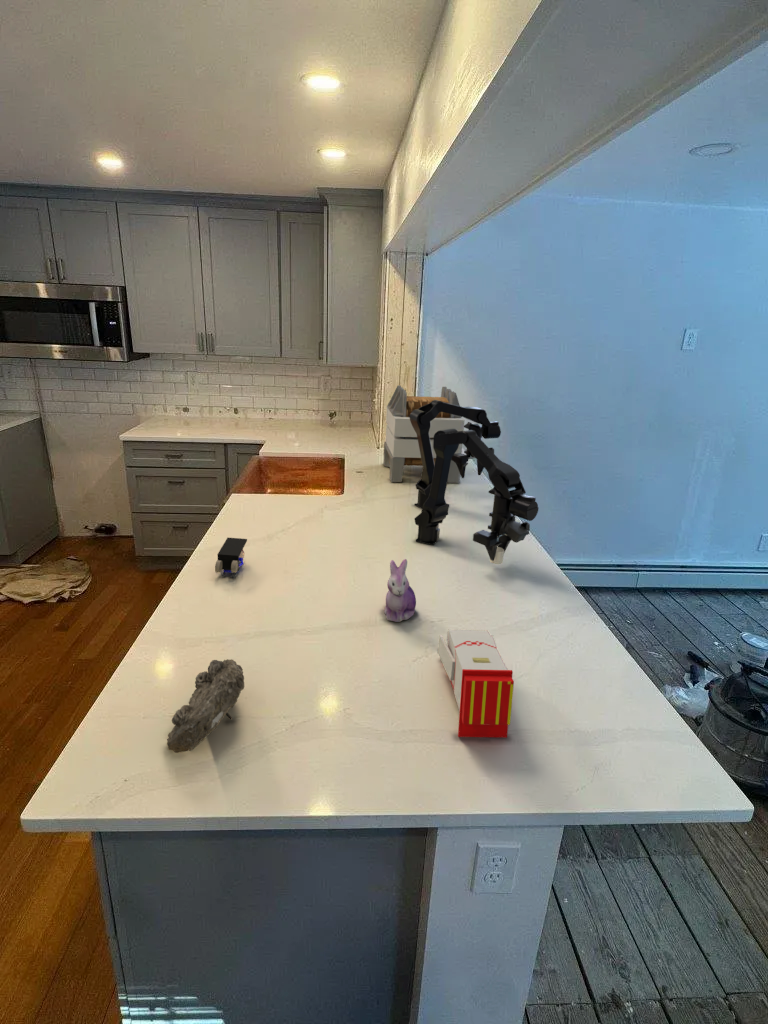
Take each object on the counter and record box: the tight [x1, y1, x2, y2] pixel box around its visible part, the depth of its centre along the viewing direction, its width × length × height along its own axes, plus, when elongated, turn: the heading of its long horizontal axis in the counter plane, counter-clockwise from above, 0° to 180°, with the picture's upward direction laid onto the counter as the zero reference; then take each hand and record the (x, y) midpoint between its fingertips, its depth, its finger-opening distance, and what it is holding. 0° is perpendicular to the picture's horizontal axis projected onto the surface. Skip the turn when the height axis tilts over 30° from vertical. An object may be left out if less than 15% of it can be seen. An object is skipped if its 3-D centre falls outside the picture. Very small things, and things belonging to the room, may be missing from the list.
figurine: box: [384, 558, 417, 623], centre depth 145 cm, size 9×10×15 cm
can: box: [489, 546, 505, 565], centre depth 174 cm, size 4×4×4 cm
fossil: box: [166, 658, 245, 754], centre depth 106 cm, size 22×10×15 cm
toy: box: [437, 628, 515, 738], centre depth 117 cm, size 12×13×30 cm
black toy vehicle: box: [214, 537, 248, 578], centre depth 166 cm, size 7×8×15 cm
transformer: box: [383, 384, 465, 484], centre depth 268 cm, size 34×33×41 cm
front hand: (496, 558), depth 174 cm, fingers closed on can, 4 cm apart
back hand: (471, 476), depth 233 cm, fingers open, 9 cm apart
